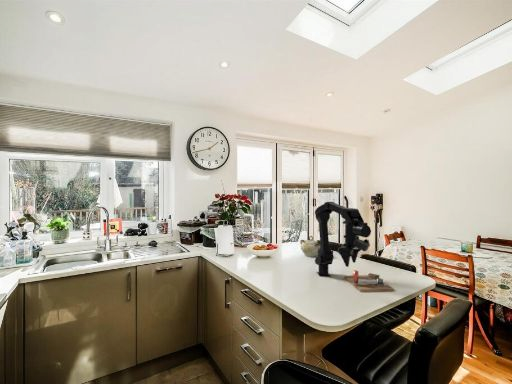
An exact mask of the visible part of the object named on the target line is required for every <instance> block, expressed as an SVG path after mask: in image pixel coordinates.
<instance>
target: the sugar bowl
mask: <svg viewBox="0 0 512 384" xmlns="http://www.w3.org/2000/svg"><path fill="white" fill-rule="evenodd" d="M299 243H300V250H301V252H302V253H303V255H304V256H305V257H317V256H318V251H319V249H320V242H318V241H316V240H314V237H313V236H312V235H310V236H309V237H308V239H307V240H305V239H301V240H300V241H299Z"/></svg>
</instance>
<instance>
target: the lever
mask: <svg viewBox="0 0 512 384" xmlns="http://www.w3.org/2000/svg"><path fill="white" fill-rule="evenodd" d="M352 275H353V283H355V284H383V282H384V279H383V278H380V277H379V278H376V280H372V279H365V280H363V279H358V275H359V270H353V271H352Z"/></svg>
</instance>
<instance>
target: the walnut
mask: <svg viewBox="0 0 512 384" xmlns="http://www.w3.org/2000/svg"><path fill="white" fill-rule="evenodd" d="M368 274H369V273H368ZM374 274H375V273H372V274H369V276H368V277H369V279H372V280H375V278H376V277H375V275H374Z"/></svg>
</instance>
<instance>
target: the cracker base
mask: <svg viewBox="0 0 512 384" xmlns="http://www.w3.org/2000/svg"><path fill="white" fill-rule="evenodd" d="M369 274H374V275H375V277H376V278H380V274H377V273H376V274H375V273H371V272H370V273H368V274H367V275H366V274H365V275H364V274H363V275H360V274H358V279H363V280H365V279H369V277H368V276H369ZM343 278H344V280H346V281H347V282H348V283H350V284H351V285H352V286H353V287H354V288H355V289H356V290H357V291H359V292H361V293H362V292H363V293H364V292H365V293H366V292H367V293H370V292H373V293H374V292H394V291H395V289H394V287H392V286H390V285H389V284H387V283H386V282H385V281H383V284H355V283H353V274H351V275H343ZM376 278H375V280H376Z"/></svg>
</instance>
